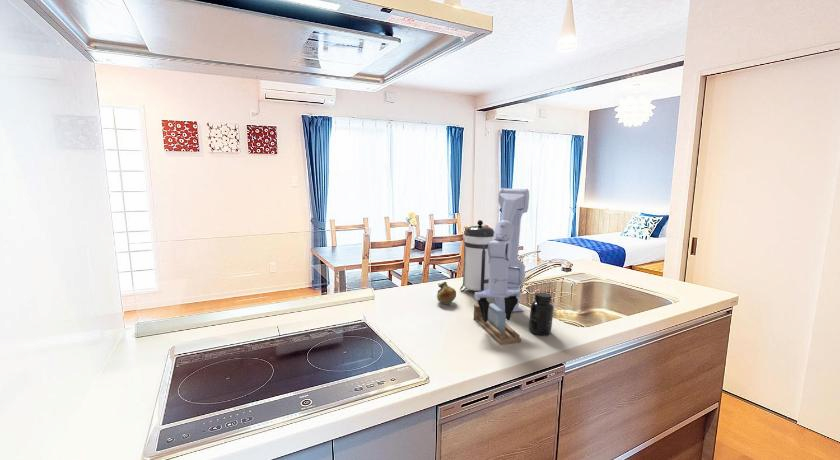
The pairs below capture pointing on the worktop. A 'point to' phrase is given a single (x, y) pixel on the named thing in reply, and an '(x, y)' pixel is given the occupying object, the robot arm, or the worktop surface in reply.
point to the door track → (500, 337)
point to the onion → (445, 293)
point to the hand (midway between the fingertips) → (496, 319)
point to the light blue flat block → (497, 317)
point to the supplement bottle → (541, 314)
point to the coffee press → (476, 257)
